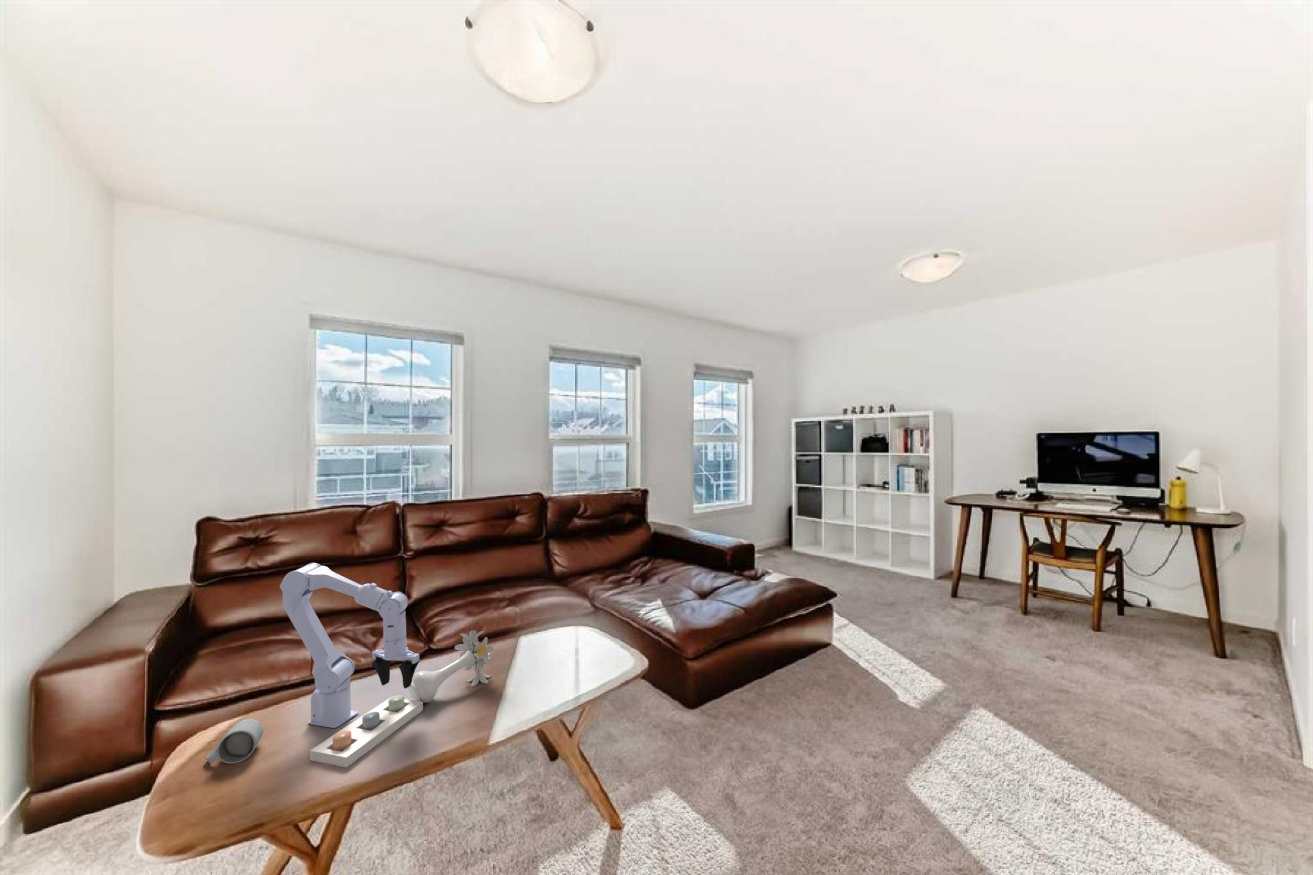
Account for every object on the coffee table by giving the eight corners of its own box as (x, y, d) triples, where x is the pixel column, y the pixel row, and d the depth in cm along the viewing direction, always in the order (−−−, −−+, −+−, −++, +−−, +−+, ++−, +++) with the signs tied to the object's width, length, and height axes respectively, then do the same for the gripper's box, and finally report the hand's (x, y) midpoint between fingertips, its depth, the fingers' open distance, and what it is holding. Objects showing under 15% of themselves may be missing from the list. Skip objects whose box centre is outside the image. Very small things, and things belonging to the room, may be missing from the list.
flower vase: (428, 730, 148) (502, 678, 165) (416, 680, 142) (494, 632, 160) (408, 707, 156) (481, 660, 174) (396, 659, 150) (473, 615, 168)
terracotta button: (328, 751, 125) (328, 738, 125) (342, 742, 129) (342, 729, 129) (341, 754, 124) (341, 741, 124) (355, 744, 128) (355, 731, 128)
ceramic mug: (265, 740, 132) (264, 711, 132) (255, 758, 125) (254, 727, 125) (213, 752, 128) (212, 722, 128) (200, 771, 120) (199, 739, 120)
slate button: (358, 730, 134) (358, 718, 134) (371, 722, 138) (370, 710, 138) (371, 733, 133) (371, 720, 133) (383, 724, 137) (382, 712, 137)
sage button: (385, 712, 142) (385, 701, 142) (395, 705, 146) (395, 694, 146) (397, 714, 141) (396, 703, 141) (407, 707, 145) (407, 696, 145)
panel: (310, 759, 124) (310, 750, 124) (391, 705, 149) (391, 696, 149) (346, 767, 121) (346, 757, 121) (422, 709, 146) (422, 701, 146)
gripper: (426, 634, 146) (427, 681, 146) (385, 630, 149) (386, 675, 150) (408, 644, 139) (409, 693, 139) (365, 639, 143) (367, 687, 143)
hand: (396, 685), depth 144 cm, fingers open, 7 cm apart
